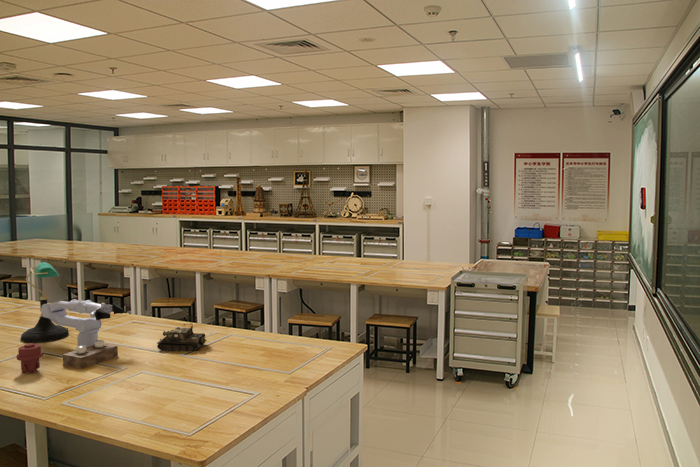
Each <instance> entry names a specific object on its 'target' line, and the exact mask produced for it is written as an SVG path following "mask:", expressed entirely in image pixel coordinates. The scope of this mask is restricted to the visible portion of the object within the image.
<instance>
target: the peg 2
mask: <svg viewBox="0 0 700 467" xmlns="http://www.w3.org/2000/svg"><path fill="white" fill-rule="evenodd" d="M104 344H105V340H104V339H98V340H97V341H95V349H101V348H104Z"/></svg>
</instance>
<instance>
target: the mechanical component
mask: <svg viewBox="0 0 700 467" xmlns="http://www.w3.org/2000/svg"><path fill="white" fill-rule="evenodd" d="M17 350H18V352H17V353H18V354H17V355H16V356H15V357H16V360H18V361H20V367H21V368H20V370H21V374H22V375H23V374H36V373H37V372H38V369H39V368H41V367H40V364H41V363H40V359H41V358H42V357H43V356H44V351H42V348H41V344H39V343H26V344H24V345H21V346H20V347H18V349H17Z"/></svg>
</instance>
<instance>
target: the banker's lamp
mask: <svg viewBox="0 0 700 467" xmlns="http://www.w3.org/2000/svg"><path fill="white" fill-rule="evenodd" d="M29 269H30V272H29V273H28V274H27V276H26V277H25V281H26V282H27V284H28V285H30V286H32V287H33V288H34V289H35V290H37V291H38V292H40V293H41V295H40V297H39V303H40V304H39V306H40V308H39V309H40V315H39V319H38V321H37V322H36V324H35V325H34V327H31V328H29V329H27V330H26V331H23V332H22V334H21V336H20V342H23V343H26V344H29V343H34V344H39V343H49V342H55V341H58V340H62V339H64V338H67V337H68V336H69V335H70V332H69V327H66V326H65V327H64V326H63V325H58V324H55V323H54V322H53V321H51V320H50V319H49V318H45V317H44V316H43V314H42V312H41V307H42V305H43V304H48V296H47V295H46V292H44V291H42V290H41V289H40V288H38V287H37V286H35V285H34V284H33V283H31V282H30V281H29V280H28V278H29V277H30V276H31V275H35V276H36V278H37V279H43V278H44V279H45V278H56V277H60V274H59V273H58V272H57V270H56V269H55V268H54V267H53V266H52V265H51V264H50V263H48V262H39V263H38V264H37V265H36V267H35V266H34V267H30V268H29ZM33 269H35V270H33Z"/></svg>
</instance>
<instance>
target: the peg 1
mask: <svg viewBox="0 0 700 467" xmlns="http://www.w3.org/2000/svg"><path fill="white" fill-rule="evenodd" d="M76 349H77V355H83V354H86V346H85V345H82V346H78V345H76V348H75V350H76Z"/></svg>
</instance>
